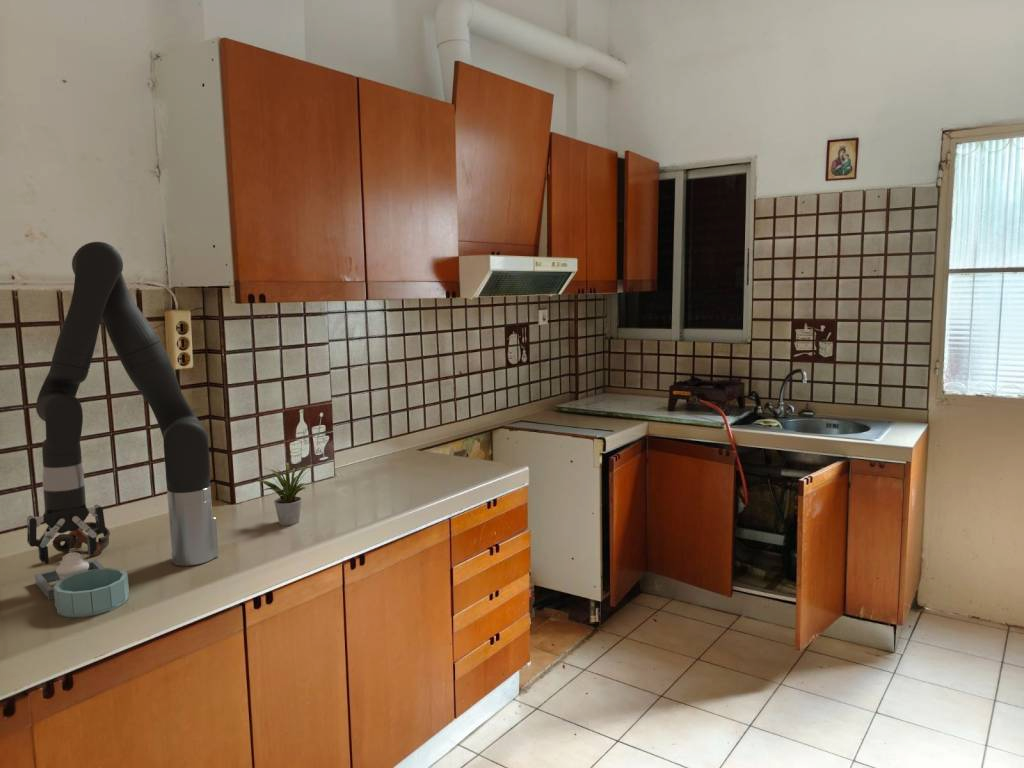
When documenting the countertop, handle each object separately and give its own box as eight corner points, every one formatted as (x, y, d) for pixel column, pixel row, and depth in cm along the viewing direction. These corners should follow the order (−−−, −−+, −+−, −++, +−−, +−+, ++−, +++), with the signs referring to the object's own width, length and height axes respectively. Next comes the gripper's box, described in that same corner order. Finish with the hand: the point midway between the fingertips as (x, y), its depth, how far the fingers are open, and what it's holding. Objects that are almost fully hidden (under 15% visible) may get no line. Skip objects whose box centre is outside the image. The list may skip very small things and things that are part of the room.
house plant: (300, 509, 212) (297, 453, 210) (329, 519, 203) (326, 460, 200) (254, 521, 201) (251, 462, 199) (282, 532, 192) (279, 471, 190)
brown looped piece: (90, 545, 186) (103, 518, 185) (106, 569, 181) (120, 541, 180) (39, 547, 176) (54, 518, 174) (55, 572, 171) (70, 543, 170)
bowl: (117, 585, 159) (115, 563, 158) (136, 603, 150) (134, 580, 149) (50, 603, 151) (47, 580, 150) (66, 623, 142) (63, 598, 141)
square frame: (96, 568, 169) (96, 559, 169) (112, 583, 161) (112, 574, 160) (35, 583, 161) (34, 574, 161) (49, 599, 152) (48, 590, 152)
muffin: (57, 581, 162) (54, 551, 161) (89, 575, 165) (86, 545, 164) (58, 591, 157) (55, 559, 156) (91, 584, 160) (88, 553, 159)
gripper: (28, 494, 151) (33, 571, 153) (105, 482, 160) (110, 555, 162) (21, 487, 156) (26, 561, 158) (96, 476, 166) (100, 546, 168)
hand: (68, 558), depth 160 cm, fingers open, 8 cm apart
